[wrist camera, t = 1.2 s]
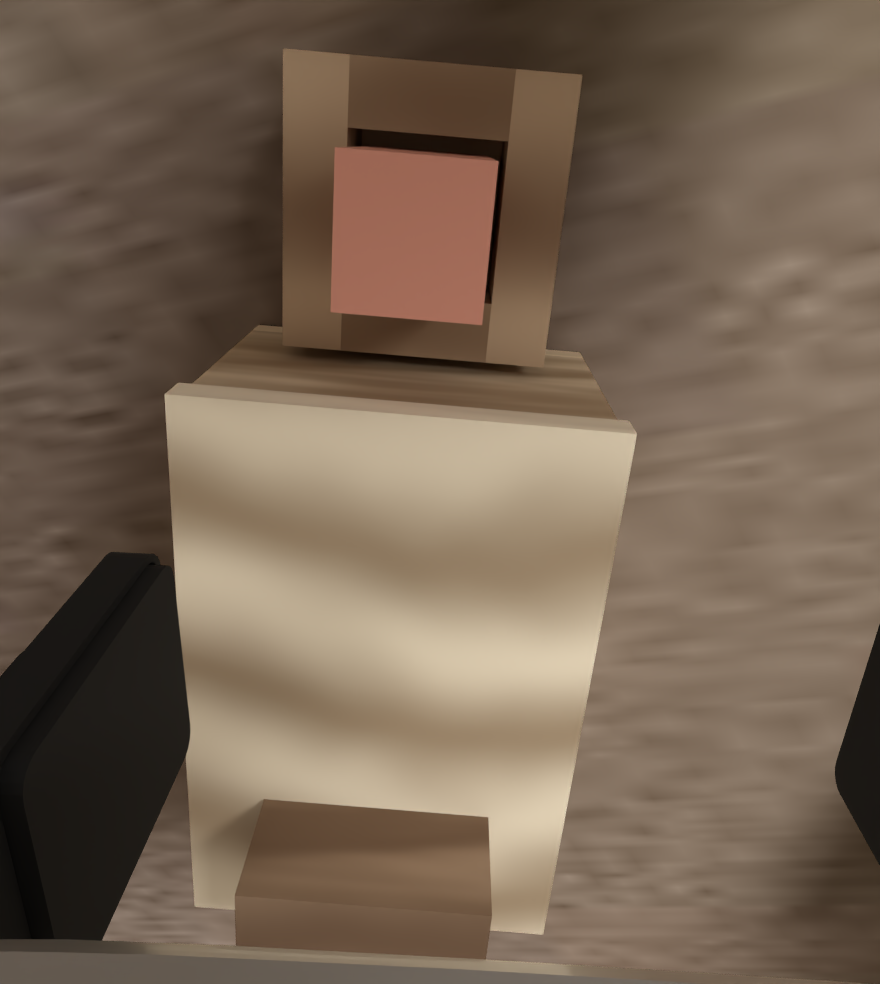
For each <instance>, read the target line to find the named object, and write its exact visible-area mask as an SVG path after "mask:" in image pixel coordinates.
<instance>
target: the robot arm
mask: <svg viewBox="0 0 880 984" xmlns="http://www.w3.org/2000/svg"><path fill="white" fill-rule="evenodd" d="M189 741H190V718H189V709H188V700H187V691H186V682H185V673H184V664H183V655H182V646H181V637H180V627H179V618H178V609H177V600H176V591H175V582H174V575H173V571H172V569H171V567H170V566H163V565H160V561H159V559H158V557H157V556H156V555H155V554H141V553H122V552H110V553H109V554H107V555H106V556H105V557H104V558H103V560H102V561H101V562H100V563H99V564H98V565H97V567H96V568H95V569H94V570H93V571H92V572H91V574H90V575H89V576H88V577H87V578H86V579H85V581H84V582H83V583H82V584H81V585H80V586H79V588H78V589H77V590H76V591H75V592H74V593H73V595H72V596H71V597H70V598H69V599H68V600H67V602H66V603H65V604H64V605H63V606H62V607H61V609H60V610H59V611H58V612H57V613H56V614H55V616H54V617H53V618H52V619H51V620H50V621H49V623H48V624H47V625H46V626H45V627H44V628H43V630H42V631H41V632H40V633H39V634H38V635H37V637H36V638H35V639H34V640H33V641H32V642H31V644H30V645H29V646H28V647H27V648H26V649H25V651H23V652H22V653H21V654H20V655H19V656H18V657H17V658H16V659H15V660H14V661H13V663H12V664H11V665H10V666H9V667H8V668H7V669H6V671H5V672H4V673H3V674H2V675H1V676H0V984H869V983H854V982H839V981H824V980H809V979H794V978H779V977H764V976H748V975H731V974H715V973H699V972H683V971H666V970H650V969H634V968H617V967H601V966H584V965H567V964H550V963H534V962H517V961H500V960H483V959H466V958H448V957H430V956H411V955H393V954H375V953H356V952H338V951H320V950H301V949H283V948H265V947H246V946H228V945H204V944H177V943H151V942H124V941H102V939H103V936H104V934H105V932H106V930H107V928H108V925H109V923H110V921H111V919H112V917H113V914H114V912H115V910H116V908H117V906H118V903H119V901H120V899H121V897H122V895H123V892H124V890H125V888H126V886H127V884H128V881H129V879H130V877H131V875H132V873H133V871H134V868H135V866H136V864H137V862H138V860H139V857H140V855H141V853H142V851H143V849H144V846H145V844H146V842H147V840H148V838H149V835H150V833H151V831H152V829H153V827H154V824H155V822H156V820H157V818H158V816H159V813H160V811H161V809H162V807H163V805H164V802H165V800H166V798H167V796H168V794H169V791H170V789H171V787H172V785H173V783H174V780H175V778H176V776H177V774H178V772H179V769H180V767H181V765H182V763H183V761H184V758H185V756H186V753H187V750H188V746H189ZM835 778H836V784H837V788H838V790H839V792H840V795H841V796H842V798H843V800H844V802H845V804H846V805H847V807H848V809H849V811H850V813H851V814H852V816H853V818H854V820H855V822H856V824H857V825H858V827H859V829H860V831H861V833H862V834H863V836H864V838H865V840H866V842H867V843H868V845H869V847H870V849H871V851H872V852H873V854H874V856H875V858H876V860H877V861H878V863H879V865H880V625H879V628H878V631H877V634H876V638H875V641H874V644H873V647H872V650H871V653H870V657H869V660H868V663H867V666H866V669H865V672H864V676H863V679H862V682H861V685H860V688H859V691H858V695H857V698H856V701H855V704H854V707H853V710H852V714H851V717H850V720H849V723H848V726H847V729H846V733H845V736H844V739H843V742H842V745H841V748H840V752H839V755H838V758H837V761H836V766H835Z"/></svg>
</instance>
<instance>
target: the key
mask: <svg viewBox="0 0 880 984" xmlns="http://www.w3.org/2000/svg"><path fill="white" fill-rule="evenodd" d="M498 163H499V161H497V160H495V159H493V158H491V157H489V156H484V155H473V154H461V153H450V152H438V151H427V150H415V149H404V148H392V147H381V146H361V147H335V157H334V196H333V235H332V275H331V312H333V313H345V314H357V315H368V316H380V317H392V318H404V319H415V320H427V321H439V322H450V323H462V324H474V325H482V321H483V311H484V301H485V291H486V282H487V272H488V262H489V252H490V242H491V232H492V222H493V212H494V202H495V192H496V182H497V172H498Z"/></svg>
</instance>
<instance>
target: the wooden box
mask: <svg viewBox="0 0 880 984" xmlns="http://www.w3.org/2000/svg"><path fill="white" fill-rule="evenodd" d="M582 76H583V75H579V74H568V73H557V72H545V71H534V70H522V69H511V68H500V67H488V66H477V65H466V64H454V63H443V62H431V61H420V60H409V59H397V58H386V57H375V56H363V55H352V54H341V53H329V52H318V51H306V50H295V49H284V48H283V327H277V326H266V325H258V326H257V327H256V328H254V329H253V330H252V331H251V332H250V333H249V334H248V335H246V336H245V337H244V338H243V339H242V340H241V341H240V342H239V343H237V344H236V345H235V346H234V347H233V348H232V349H231V350H230V351H228V352H227V353H226V354H225V355H224V356H223V357H222V358H221V359H219V360H218V361H217V362H216V363H215V364H214V365H213V366H212V367H210V368H209V369H208V370H207V371H206V372H205V373H204V374H202V375H201V376H200V377H199V378H198V379H197V380H196V381H195V382H193V383H192V384H201V385H212V386H224V387H236V388H248V389H260V390H271V391H283V392H295V393H307V394H319V395H331V396H342V397H354V398H366V399H378V400H390V401H401V402H413V403H425V404H437V405H449V406H460V407H472V408H484V409H496V410H508V411H519V412H531V413H543V414H555V415H567V416H579V417H590V418H602V419H614V420H617V418H616V416H615V415H614V413H613V411H612V409H611V407H610V406H609V404H608V402H607V400H606V399H605V397H604V395H603V393H602V391H601V390H600V388H599V386H598V384H597V382H596V381H595V379H594V377H593V375H592V373H591V372H590V370H589V368H588V366H587V365H586V363H585V361H584V359H583V357H582V356H581V354H580V352H570V351H559V350H547V349H546V344H547V337H548V329H549V322H550V314H551V307H552V299H553V292H554V284H555V277H556V270H557V262H558V255H559V247H560V240H561V232H562V225H563V217H564V210H565V202H566V195H567V187H568V180H569V173H570V165H571V158H572V150H573V143H574V135H575V128H576V120H577V113H578V105H579V98H580V91H581V83H582ZM361 146H381V147H392V148H404V149H415V150H427V151H438V152H450V153H461V154H473V155H484V156H489V157H491V158H493V159H495V160H497V161H499V163H498V172H497V182H496V192H495V202H494V212H493V222H492V232H491V242H490V252H489V262H488V272H487V282H486V291H485V301H484V311H483V321H482V325H474V324H462V323H450V322H439V321H427V320H415V319H404V318H392V317H380V316H368V315H357V314H345V313H333V312H331V275H332V235H333V196H334V157H335V147H361Z"/></svg>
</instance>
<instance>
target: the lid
mask: <svg viewBox="0 0 880 984" xmlns="http://www.w3.org/2000/svg"><path fill="white" fill-rule="evenodd" d="M164 395H165V412H166V429H167V446H168V463H169V480H170V497H171V514H172V531H173V548H174V565H175V582H176V599H177V609H178V618H179V627H180V637H181V646H182V655H183V664H184V673H185V682H186V691H187V700H188V709H189V718H190V741H189V746H188V750H187V753H186V769H187V786H188V803H189V820H190V837H191V853H192V870H193V887H194V904H195V907H203V908H216V909H229V910H235V927H236V946H246V947H265V948H283V949H301V950H320V951H338V952H356V953H375V954H393V955H411V956H430V957H448V958H466V959H483V960H486V953H487V947H488V940H489V933H490V930H492V931H505V932H517V933H530V934H542V935H543V932H544V926H545V921H546V916H547V910H548V905H549V900H550V895H551V889H552V884H553V879H554V873H555V868H556V863H557V857H558V852H559V847H560V841H561V836H562V831H563V825H564V820H565V815H566V809H567V804H568V799H569V793H570V788H571V783H572V777H573V772H574V767H575V762H576V756H577V751H578V746H579V740H580V735H581V730H582V724H583V719H584V714H585V708H586V703H587V698H588V692H589V687H590V682H591V676H592V671H593V666H594V660H595V655H596V650H597V644H598V639H599V634H600V629H601V623H602V618H603V613H604V607H605V602H606V597H607V591H608V586H609V581H610V575H611V570H612V565H613V559H614V554H615V549H616V543H617V538H618V533H619V527H620V522H621V517H622V512H623V506H624V501H625V496H626V490H627V485H628V480H629V474H630V469H631V464H632V458H633V453H634V448H635V442H636V437H637V433H636V432H635V430H634V428H633V427H632V425H631V423H630V422H629V421H626V420H614V419H602V418H590V417H579V416H567V415H555V414H543V413H531V412H519V411H508V410H496V409H484V408H472V407H460V406H449V405H437V404H425V403H413V402H401V401H390V400H378V399H366V398H354V397H342V396H331V395H319V394H307V393H295V392H283V391H271V390H260V389H248V388H236V387H224V386H212V385H201V384H189V383H177V384H176V385H175V386H174V387H172V388H171V389H170V390H169V391H168V392H166V393H165V394H164Z"/></svg>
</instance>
